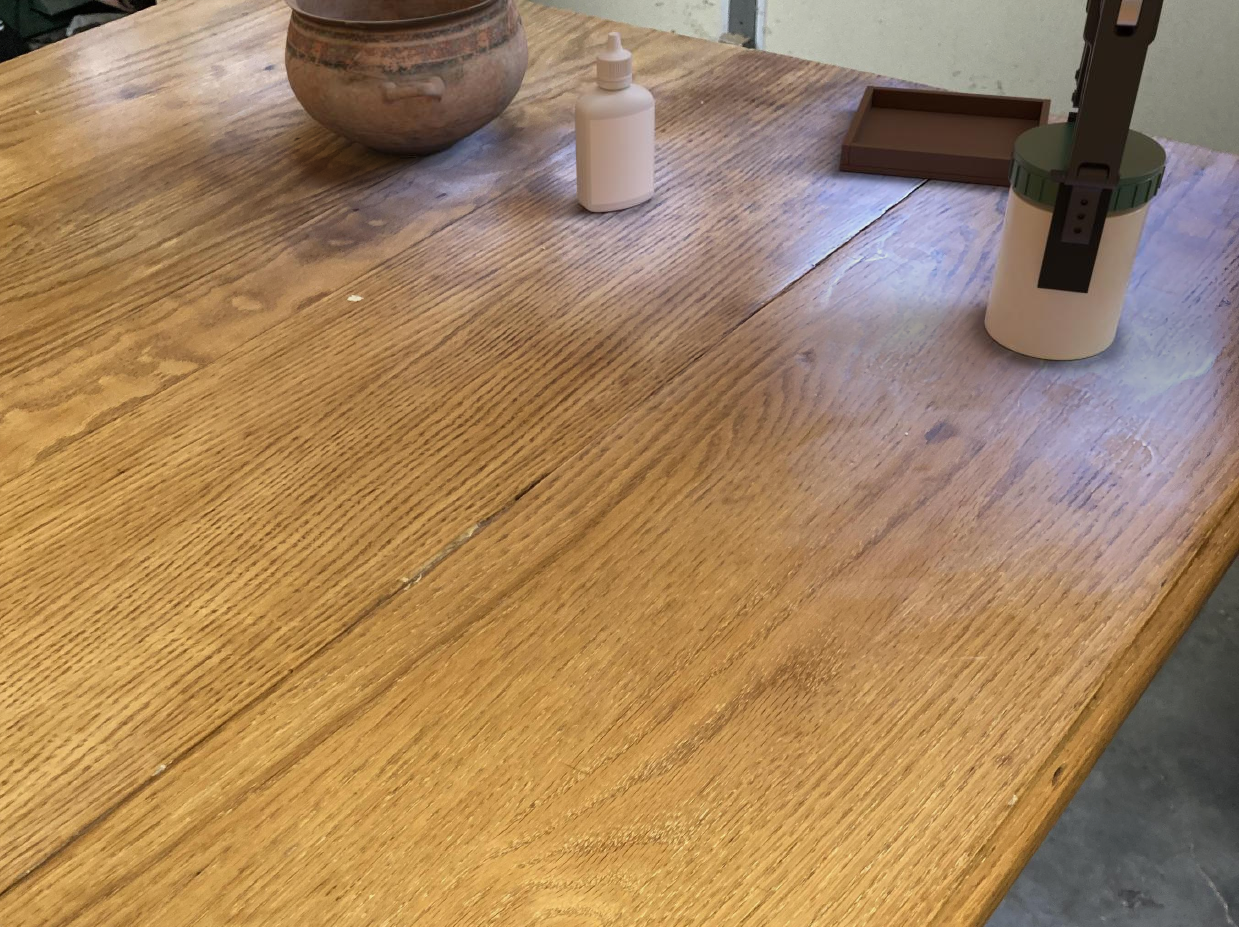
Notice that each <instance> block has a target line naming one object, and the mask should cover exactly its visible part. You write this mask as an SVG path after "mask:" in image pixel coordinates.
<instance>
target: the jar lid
mask: <svg viewBox="0 0 1239 927" xmlns="http://www.w3.org/2000/svg"><path fill="white" fill-rule="evenodd" d="M1074 127H1075V122H1067V121H1061V122H1054V123H1052V122H1051V123H1048V124H1047V125H1042V126H1039V127H1035V128H1033V129H1030V130H1028V131H1026V132H1024V133H1023V134H1021V135H1020V136H1019V137H1018V138H1017V140H1016V142H1015V146H1014V150H1012V154H1011V159H1010V164H1009V170H1008V172H1009V177H1008V180H1010V182H1011V185H1012V186H1013V188H1014V189H1015V190H1017V191H1018V192H1019V193H1020V194H1022V195H1023V196H1025V197H1027V198H1029V199H1031V200H1033V201H1035V202H1037V203H1040V204H1044V205H1047V206H1050V207H1054V205H1055V201H1056V196H1057V191H1058V187H1059V182H1053V181H1049V176H1050V171H1051V169H1055V170H1063V168H1064V166H1066V164H1067V162H1068V157H1069V152H1070V147H1071V142H1072V137H1073V132H1074ZM1166 160H1167V153H1166V150H1165V149H1164V147H1163V146H1162V144H1160V143H1159V142H1158V141H1157V140H1155V139H1154V138H1152V137H1150V136H1149V135H1147V134H1145V133H1142V132H1140V131H1137V130H1134V129H1131V128H1129V132H1128V136H1127V140H1126V144H1125V149H1124V153H1123V157H1122V162H1121V166H1120V172H1121V177H1120V181H1119V183H1118V184H1117V187H1115V189H1113V192H1112V196H1111V200H1110V204H1109V208H1108V212H1116V211H1122V210H1127V209H1132V208H1135V207H1138V206H1140V205H1143V204H1145V203H1147V202H1148V201H1150V200H1151V201H1152V200H1153V198H1154V197H1157V194H1158V192H1159V190H1160V189H1161V187H1162V186H1161V185H1162V181H1163V178H1164V174H1165V170H1166V165H1165V164H1166Z"/></svg>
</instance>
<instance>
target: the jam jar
mask: <svg viewBox="0 0 1239 927" xmlns="http://www.w3.org/2000/svg"><path fill="white" fill-rule="evenodd" d="M1151 202H1152V199H1151V200H1150V201H1148V202H1147V203H1145V204H1143V205H1140V206H1138V207H1135V208H1132V209H1127V210H1122V211H1116V212H1107V216H1106V220H1105V224H1104V228H1103V233H1102V237H1101V241H1100V245H1099V249H1098V253H1097V257H1096V261H1095V265H1094V269H1093V273H1092V277H1091V281H1090V285H1089V290H1088V294H1086V293H1077V292H1069V291H1060V290H1051V289H1042V288H1037V285H1038V279H1039V274H1040V270H1041V265H1042V261H1043V256H1044V251H1045V247H1046V242H1047V237H1048V233H1049V228H1050V224H1051V219H1052V214H1053V210H1054V207H1050V206H1047V205H1044V204H1040V203H1037V202H1035V201H1033V200H1031V199H1029V198H1027V197H1025V196H1023V195H1022V194H1020V193H1019V192H1018V191H1017V190H1015V189H1014V188H1013V186H1012V185H1010V186H1009V191H1008V196H1007V201H1006V206H1005V211H1004V217H1003V222H1002V228H1001V232H1000V236H999V243H998V246H997V254H996V259H995V264H994V269H993V273H992V280H991V285H990V289H989V295H988V300H987V304H986V310H985V315H984V327H985V330H986V332H987V333H988V334H989V336H990V337H991V338H992V339H993V340H994V341H995V342H997V343H998V344H1000V345H1001V346H1002V347H1004V348H1006V349H1009V350H1011V351H1012V352H1015V353H1018V354H1021V355H1025V356H1028V357H1031V358H1032V357H1033V358H1037V359H1042V360H1051V361H1052V360H1053V361H1073V360H1080V359H1085V358H1090V357H1093V356H1096V355H1098V354H1101V353H1103V352H1104V351H1105V350H1107V349H1108V348H1109V347H1110V346H1111V345H1112V344H1113V342H1114V340H1115V337H1116V334H1117V329H1118V326H1119V322H1120V318H1121V314H1122V311H1123V308H1124V303H1125V299H1126V296H1127V293H1128V288H1129V285H1130V281H1131V277H1132V273H1133V270H1134V267H1135V266H1134V265H1135V263H1136V262H1135V261H1136V259H1137V255H1138V251H1139V247H1140V245H1141V244H1140V243H1141V240H1142V236H1143V232H1144V229H1145V226H1146V225H1145V224H1146V221H1147V217H1148V213H1149V210H1150V206H1151Z"/></svg>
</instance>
